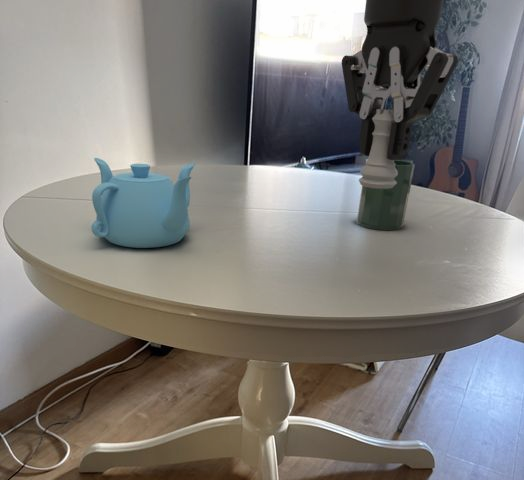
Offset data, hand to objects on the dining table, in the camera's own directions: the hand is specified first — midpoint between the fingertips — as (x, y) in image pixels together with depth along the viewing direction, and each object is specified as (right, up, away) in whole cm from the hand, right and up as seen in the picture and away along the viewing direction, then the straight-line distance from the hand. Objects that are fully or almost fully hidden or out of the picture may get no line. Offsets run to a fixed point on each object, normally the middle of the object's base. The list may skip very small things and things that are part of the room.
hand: (381, 156), depth 55 cm
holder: (+7, 0, +30) cm, 31 cm away
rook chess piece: (0, -3, +2) cm, 3 cm away
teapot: (-30, -6, +16) cm, 35 cm away
